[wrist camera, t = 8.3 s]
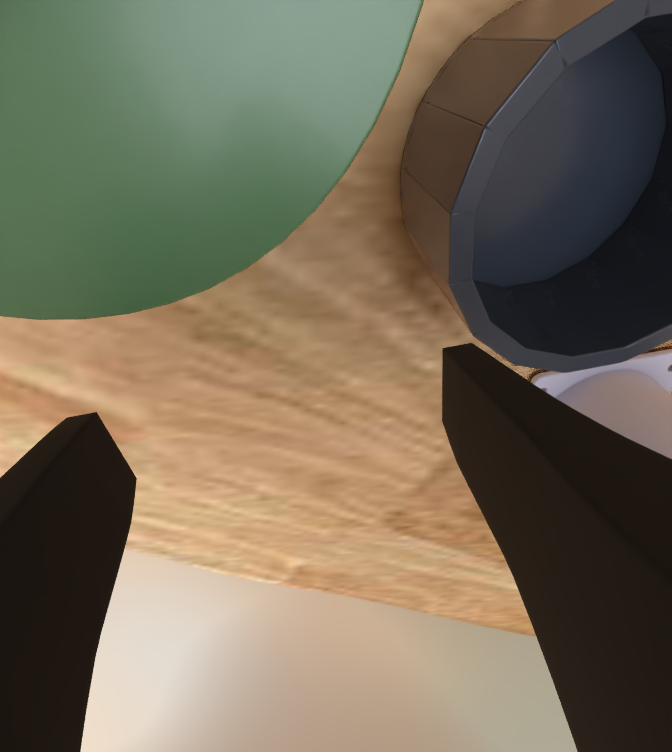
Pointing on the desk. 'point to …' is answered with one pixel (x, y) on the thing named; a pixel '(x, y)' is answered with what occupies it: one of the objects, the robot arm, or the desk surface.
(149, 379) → the desk surface
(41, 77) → the lid
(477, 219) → the tin
